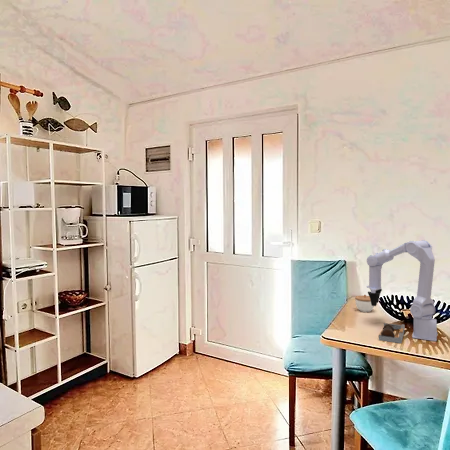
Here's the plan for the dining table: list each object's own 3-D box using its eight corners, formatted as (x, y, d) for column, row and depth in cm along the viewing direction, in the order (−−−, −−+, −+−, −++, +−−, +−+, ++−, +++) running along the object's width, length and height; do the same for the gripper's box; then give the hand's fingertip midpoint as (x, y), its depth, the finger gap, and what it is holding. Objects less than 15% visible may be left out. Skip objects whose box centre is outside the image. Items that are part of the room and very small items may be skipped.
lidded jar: (351, 309, 212) (351, 293, 212) (364, 307, 217) (364, 292, 216) (365, 314, 202) (365, 297, 202) (379, 311, 207) (379, 295, 207)
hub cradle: (404, 329, 175) (404, 323, 175) (401, 343, 156) (401, 337, 156) (383, 326, 179) (384, 321, 179) (378, 340, 161) (378, 333, 161)
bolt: (390, 334, 173) (389, 343, 160) (380, 328, 175) (378, 336, 162) (397, 325, 172) (396, 333, 159) (387, 318, 174) (386, 326, 161)
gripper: (368, 275, 195) (368, 300, 195) (364, 279, 182) (364, 306, 183) (383, 276, 191) (382, 301, 192) (379, 281, 179) (379, 308, 179)
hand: (374, 304), depth 187 cm, fingers open, 7 cm apart
